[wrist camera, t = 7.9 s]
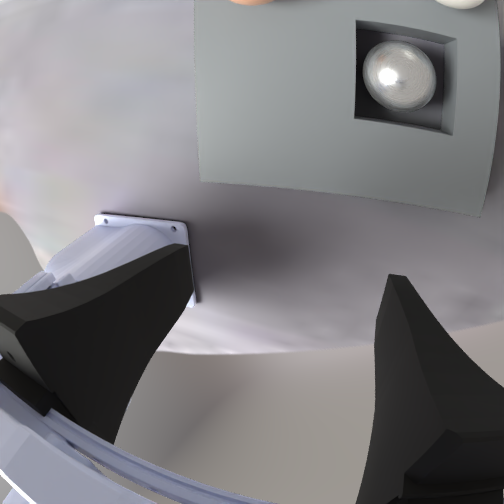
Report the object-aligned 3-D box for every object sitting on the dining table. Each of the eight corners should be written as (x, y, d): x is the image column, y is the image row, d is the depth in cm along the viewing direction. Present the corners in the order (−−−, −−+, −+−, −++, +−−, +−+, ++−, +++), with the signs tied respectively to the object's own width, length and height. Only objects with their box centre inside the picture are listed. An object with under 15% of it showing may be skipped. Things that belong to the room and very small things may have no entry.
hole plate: (215, 171, 21) (199, 181, 19) (212, -47, 13) (195, -59, 11) (467, 202, 17) (480, 217, 14) (476, -28, 9) (489, -39, 7)
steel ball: (360, 102, 16) (355, 102, 13) (368, 40, 14) (363, 25, 11) (425, 119, 15) (436, 123, 12) (434, 56, 13) (446, 46, 10)
